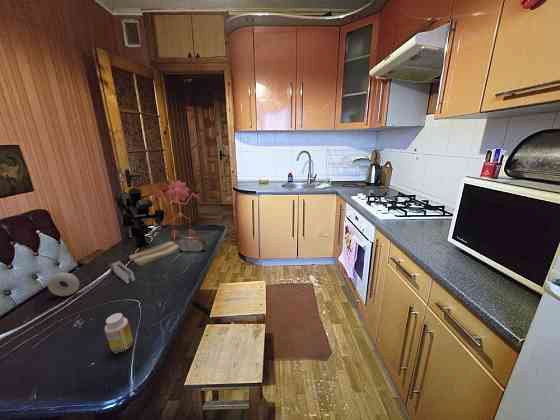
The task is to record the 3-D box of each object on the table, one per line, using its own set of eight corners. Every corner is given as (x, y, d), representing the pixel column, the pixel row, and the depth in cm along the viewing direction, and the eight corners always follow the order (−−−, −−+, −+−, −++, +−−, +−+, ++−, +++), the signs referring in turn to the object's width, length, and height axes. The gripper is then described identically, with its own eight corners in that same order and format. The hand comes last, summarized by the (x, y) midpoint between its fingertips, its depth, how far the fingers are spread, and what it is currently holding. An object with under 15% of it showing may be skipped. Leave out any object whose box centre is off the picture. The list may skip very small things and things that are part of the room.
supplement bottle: (129, 335, 73) (122, 308, 70) (136, 344, 70) (128, 316, 67) (108, 347, 69) (99, 319, 66) (114, 358, 66) (105, 328, 63)
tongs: (111, 269, 111) (109, 262, 109) (119, 266, 113) (117, 259, 112) (126, 283, 100) (124, 275, 98) (135, 279, 102) (133, 271, 101)
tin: (207, 250, 128) (205, 235, 125) (204, 252, 125) (202, 238, 122) (180, 249, 129) (178, 235, 127) (177, 252, 126) (175, 237, 124)
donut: (84, 290, 96) (77, 269, 93) (79, 295, 93) (72, 273, 90) (55, 294, 94) (47, 272, 91) (49, 300, 91) (41, 277, 88)
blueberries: (91, 315, 83) (89, 310, 83) (97, 324, 78) (95, 319, 78) (66, 327, 78) (64, 322, 78) (71, 337, 73) (69, 332, 73)
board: (129, 258, 121) (128, 255, 120) (170, 243, 137) (170, 240, 137) (140, 266, 113) (139, 263, 113) (182, 249, 129) (182, 246, 129)
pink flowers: (204, 239, 141) (196, 181, 131) (159, 242, 138) (148, 183, 129) (209, 230, 156) (202, 177, 146) (168, 233, 153) (159, 179, 143)
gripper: (117, 198, 112) (128, 214, 103) (159, 195, 125) (171, 209, 117) (117, 218, 116) (127, 235, 108) (157, 213, 130) (169, 228, 121)
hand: (149, 226), depth 113 cm, fingers open, 9 cm apart
